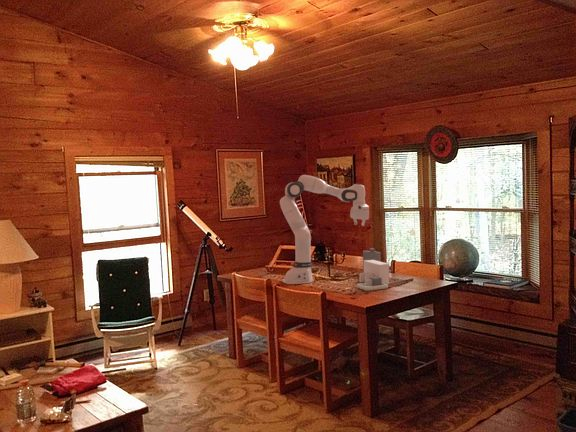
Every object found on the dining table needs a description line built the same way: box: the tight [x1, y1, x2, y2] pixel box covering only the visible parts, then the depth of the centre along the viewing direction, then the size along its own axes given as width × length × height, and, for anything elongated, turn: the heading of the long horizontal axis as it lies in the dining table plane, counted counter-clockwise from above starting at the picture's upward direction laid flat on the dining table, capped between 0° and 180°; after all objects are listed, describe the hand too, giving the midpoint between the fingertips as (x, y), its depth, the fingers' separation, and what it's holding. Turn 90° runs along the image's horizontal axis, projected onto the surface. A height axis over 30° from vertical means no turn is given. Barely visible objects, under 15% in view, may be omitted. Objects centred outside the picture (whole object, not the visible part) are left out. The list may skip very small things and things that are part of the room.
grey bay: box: [358, 260, 390, 285], centre depth 384 cm, size 15×20×14 cm
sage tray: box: [356, 282, 389, 292], centre depth 365 cm, size 17×12×2 cm
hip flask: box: [362, 247, 382, 273], centre depth 412 cm, size 16×4×20 cm, turn 43°
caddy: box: [364, 277, 382, 286], centre depth 365 cm, size 11×5×6 cm, turn 114°
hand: (359, 225), depth 395 cm, fingers open, 8 cm apart
